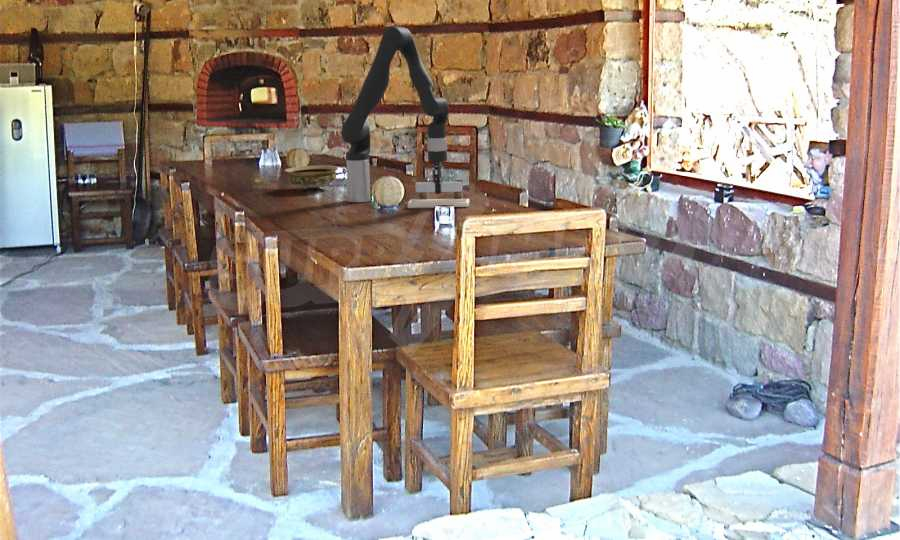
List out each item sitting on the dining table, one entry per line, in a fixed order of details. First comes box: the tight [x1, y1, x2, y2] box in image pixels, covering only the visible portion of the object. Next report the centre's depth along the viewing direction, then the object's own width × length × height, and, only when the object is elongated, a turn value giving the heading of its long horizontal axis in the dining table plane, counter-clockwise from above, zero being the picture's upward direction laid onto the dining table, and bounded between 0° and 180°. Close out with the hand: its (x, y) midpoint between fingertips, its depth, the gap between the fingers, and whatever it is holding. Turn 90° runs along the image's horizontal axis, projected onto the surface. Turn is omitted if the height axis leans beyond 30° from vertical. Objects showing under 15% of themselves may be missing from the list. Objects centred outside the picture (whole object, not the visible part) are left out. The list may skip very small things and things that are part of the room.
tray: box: [407, 198, 471, 209], centre depth 385 cm, size 24×10×2 cm, turn 84°
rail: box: [414, 181, 462, 193], centre depth 384 cm, size 18×4×4 cm, turn 84°
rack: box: [418, 179, 464, 199], centre depth 394 cm, size 20×6×9 cm, turn 84°
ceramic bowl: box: [284, 164, 339, 192], centre depth 439 cm, size 30×24×10 cm
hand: (438, 192), depth 384 cm, fingers closed on rail, 3 cm apart
